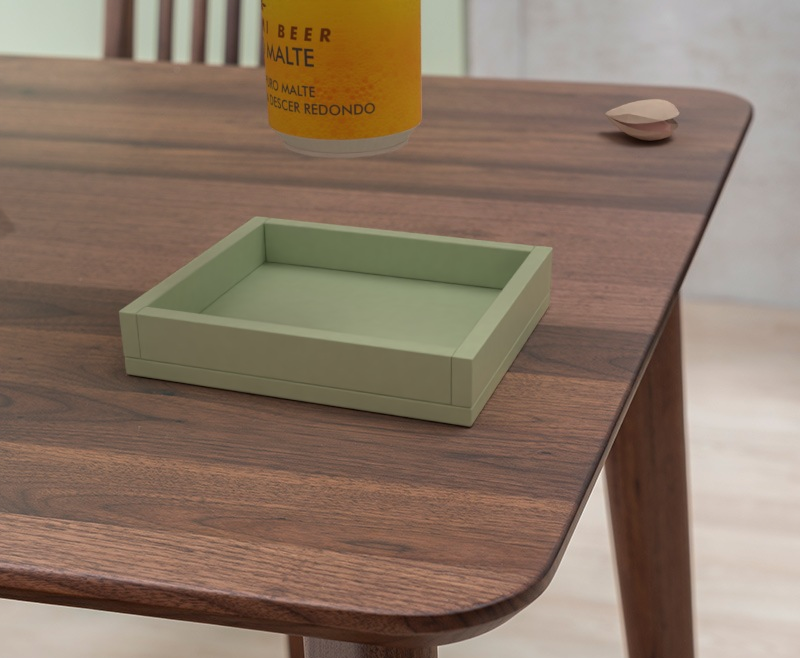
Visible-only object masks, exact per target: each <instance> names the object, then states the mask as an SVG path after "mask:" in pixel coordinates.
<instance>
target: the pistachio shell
mask: <svg viewBox="0 0 800 658" xmlns="http://www.w3.org/2000/svg"><path fill="white" fill-rule="evenodd" d="M679 115H680V111H679V110H678V108H677V107H676V106H675V104H673V103H672V102H670V101H668V100H665V99H660V98H651V99H642V100H636V101H632V102H628V103H625V104H622V105H619V106H616V107H614V108H612V109H609V110H607V111H606V112H605V116H606V117H607V118H608V120H610V122H611V123H612V124H613V125H614V126H616V127H617V128H618V129H619V130H620V131H622V133H625V134H627V136H630V137H632V138H634V139H637V140H641V141H650V142H652V141H657V140H663V139H668V138H669V137H670V136H671V135H673V133H675V131H676V130H677V128H679V123H678V122H677V121H676V120H675V119H674V118H676V117H677V116H679Z"/></svg>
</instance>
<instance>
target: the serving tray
mask: <svg viewBox="0 0 800 658" xmlns="http://www.w3.org/2000/svg"><path fill="white" fill-rule="evenodd" d="M553 255H554V248H553V247H552V246H544V245H543V246H542V245H531V244H522V243H521V244H520V243H512V242H501V241H494V240H493V241H492V240H482V239H474V238H466V237H465V238H464V237H455V236H447V235H438V234H437V235H436V234H427V233H417V232H408V231H399V230H389V229H380V228H371V227H362V226H361V227H360V226H351V225H343V224H342V225H341V224H334V223H332V224H331V223H323V222H314V221H304V220H296V219H285V218H276V217H268V216H259V215H255V216H253V217H252V218H250V219H249V220H248V221H246V222H245V223H243V224H242V225H240V226H239V227H238V228H236V229H234V230H233V231H232V232H231V233H229V234H228V235H226V236H225V237H222V239H220V240H219V241H217V242H216V243H214V244H213V245H212V246H210V247H209V248H208V249H206V250H205V251H203V252H202V253H200V254H199V255H197V256H196V257H194V258H193V259H192V260H190V261H189V262H187V263H186V264H185V265H183V266H182V267H180V268H179V269H177V270H176V271H174V272H173V273H172V274H170V275H169V276H167V277H166V278H164V279H163V280H162V281H160V282H159V283H157V284H156V285H154V286H153V287H152V288H150V289H149V290H147V291H146V292H143V294H141V295H140V296H139V297H137V298H135V299H134V300H133V301H131V302H130V303H128V304H127V305H125V306H123V308H121V309H120V310H118V315H119V326H120V334H121V342H122V352H123V356H124V367H125V373H126V375H129V376H136V377H142V378H148V379H149V378H150V379H155V380H163V381H169V382H177V383H182V384H188V385H194V386H201V387H207V388H213V389H220V390H227V391H233V392H239V393H246V394H247V393H248V394H253V395H260V396H267V397H273V398H279V399H287V400H293V401H299V402H306V403H312V404H319V405H324V406H330V407H331V406H332V407H333V406H334V407H339V408H345V409H352V410H353V409H354V410H359V411H364V412H371V413H378V414H384V415H390V416H397V417H404V418H410V419H415V420H416V419H417V420H424V421H430V422H437V423H443V424H450V425H457V426H463V427H468V428H469V427H472V426H473V424H474V423H475V422H476V420H477V418H478V417H479V416H480V414H481V412H482V410H483V409H484V407H485V406H486V404H487V403H488V402H489V399H490V398H491V397H492V395H493V394H494V392H495V391H496V389H497V387H498V386H499V384H500V382H501V381H502V379H504V377H505V375H506V374H507V372H508V371H509V369H510V368H511V366H512V364H513V363H514V361H515V359H516V358H517V356H518V355H519V354H520V352H521V350H522V349H523V347H524V346H525V344H526V343H527V341H528V340H529V338H530V336H532V334H533V332H534V330H535V329H536V327H537V326H538V324H539V322H540V321H541V319H542V318H543V316H544V315H545V313H546V312H547V310H548V309H549V307H550V305H551V293H552V292H551V289H552V275H553V274H552V273H553Z"/></svg>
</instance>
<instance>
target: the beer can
mask: <svg viewBox="0 0 800 658" xmlns="http://www.w3.org/2000/svg"><path fill="white" fill-rule="evenodd" d="M260 7H261V23H262V26H261V27H262V39H263V40H262V41H263V56H264V72H265V73H264V74H265V86H266V87H265V89H266V102H267V118H268V120H267V121H268V126H269V127H270V129H272V130H273V131H274V132H275V133H276V134H277V135H278V136H279V137H280V138H281V139H282V144H283V146H284V147H285V148H286V149H287V150H290V151H291V152H294V153H296V154H300V155H303V156H309V157H315V158H325V159H327V158H328V159H355V158H365V157H366V158H367V157H372V156H380V155H384V154H388V153H392V152H394V151H397V150H399V149H401V148H403V147H405V146H406V145H407V144H408V143H409V141H410V135H411V134H412V133H413V132H414V131H415V130H416V129H417V127H418V126H419V125H420V124H421V123H422V119H423V107H422V106H423V103H422V102H423V101H422V100H423V99H422V95H423V93H422V91H423V89H422V85H423V84H422V80H423V79H422V78H423V77H422V0H260Z"/></svg>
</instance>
